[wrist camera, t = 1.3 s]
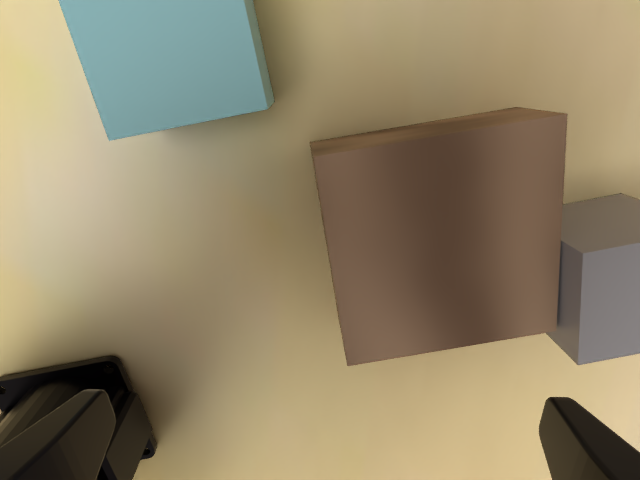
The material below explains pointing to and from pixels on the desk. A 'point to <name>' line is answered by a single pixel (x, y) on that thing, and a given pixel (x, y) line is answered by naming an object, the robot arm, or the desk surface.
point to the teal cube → (169, 61)
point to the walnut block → (444, 231)
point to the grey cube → (599, 279)
